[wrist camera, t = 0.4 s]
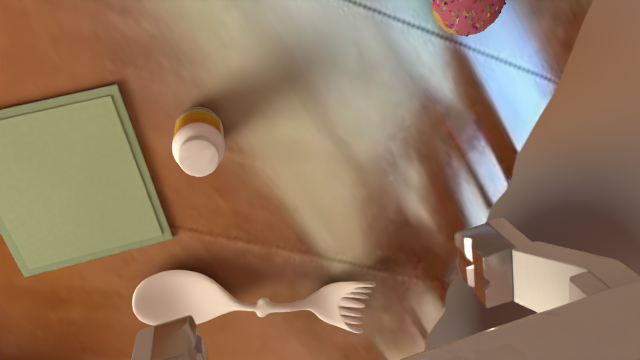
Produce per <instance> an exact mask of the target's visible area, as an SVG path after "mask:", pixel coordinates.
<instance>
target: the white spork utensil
mask: <svg viewBox="0 0 640 360" xmlns="http://www.w3.org/2000/svg"><path fill="white" fill-rule="evenodd" d="M373 286H376V284H375V283H373V282H370V281H352V282H337V283H332V284H329V285H326V286H324V287H322V288H321V289H319V290H317V291H316V292H314V293H312V294H311V295H309V296H307V297H305V298H303V299H301V300H298V301H294V302H289V303H275V302H271V301H269V299H268V298H266V297H262V298H260V299H259V301H258V302H256V303H248V302H243V301H240V300H238V299H236V298H234V297H233V296H232V295H230V294H229V293H228V292H227V291H226V290H225V289H224V288H223V287H221V286H220V285H219V284H218V283H217V282H215V281H214V280H212V279H211V278H209V277H207V276H205V275H203V274H200V273H197V272H193V271H186V270H169V271H164V272H160V273H157V274H154V275H152V276H150V277H148V278H146V279H145V280H143V281H142V282H141V283H140V284H139V285H138V286H137V288H136V290H135V292H134V294H133V299H132V307H133V311H134V313H135V315H136V316H137V317H138V318H139V319H140V320H141V321H143V322H145V323H147V324H150V325H157V324H160V323H164V322H167V321H171V320H174V319H178V318H181V317H185V316H188V315H191V316H192V317H193V319H194V321H195V323H196V324H199V323H202V322H205V321H208V320H210V319H212V318H215V317H217V316H219V315H222V314H225V313H227V312H230V311H234V310H248V311H255V312H256V313H257V315H258V316H259V317H264V316H266V315H267V314H269V313H272V312H290V311H297V310H310V311H312V312H314V313H315V314H316V315H317V316H318V317H319V318H320V319H322V320H323V321H325V322H327V323H329V324H332V325H335V326H338V327H341V328H344V329H346V330H349V331H352V332H355V333H363V332H364V331H363V330H362V329H361V328H358V327H355V326H353V325H350V324H348V323H354V324H363V322H362V321H360V320H357V319H354V318H352V317H349V316H347V315H351V316H364V315H363V314H361V313H359V312H356V311H353V310H350V309H348V308H345V307H365V305H364V304H363V303H361V302H358V301H356V300H353V299H350V298H347V297H355V298H369V297H368V296H366V295H363V294H360V293H356V292H372V291H371V290H369V289H366V288H363V287H373ZM342 306H345V307H342Z"/></svg>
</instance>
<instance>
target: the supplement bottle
mask: <svg viewBox="0 0 640 360" xmlns="http://www.w3.org/2000/svg"><path fill="white" fill-rule="evenodd" d="M172 151H173V155H174V158H175V160H176V161H177V163H178V164H179V165H180V166H181V168H182V169H183V170H184V171H185V172H186V173H188V174H190V175H192V176H198V177H199V176H205V175H208V174H210V173H211V172H213V171H214V170H215V169H216V167H217V165H218V164H219V163H220V162H221V161H222V159H223V156H224V153H225V141H224V133H223V126H222V123H221V120H220V118H219V117H218V116H217V115H216V114H215V113H214V112H213V111H211V110H209V109H207V108H204V107H193V108H190V109H187V110H186V111H184V112H183V113H182V114H181V115H180V116H179V117H178V119H177V121H176V125H175V131H174V138H173V144H172Z"/></svg>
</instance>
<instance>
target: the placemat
mask: <svg viewBox="0 0 640 360" xmlns="http://www.w3.org/2000/svg"><path fill="white" fill-rule="evenodd" d="M0 233H1V235H2V237H3V239H4V240H5V242H6V244H7V246H8V248H9V250H10V251H11V253H12V255H13V257H14V259H15V261H16V262H17V264H18V266H19V268H20V270H21V271H22V273H23V275H24V277H28V276H31V275H35V274H39V273H43V272H47V271H50V270H54V269H58V268H62V267H66V266H70V265H73V264H77V263H81V262H85V261H89V260H92V259H96V258H100V257H104V256H108V255H112V254H115V253H119V252H123V251H127V250H131V249H135V248H138V247H142V246H146V245H150V244H154V243H157V242H161V241H165V240H169V239H173V236H172V233H171V230H170V228H169V225H168V222H167V219H166V217H165V214H164V211H163V208H162V206H161V203H160V200H159V197H158V195H157V192H156V189H155V186H154V184H153V181H152V178H151V175H150V173H149V170H148V167H147V164H146V162H145V159H144V156H143V153H142V151H141V148H140V145H139V142H138V140H137V137H136V134H135V131H134V129H133V126H132V123H131V120H130V118H129V115H128V112H127V109H126V107H125V104H124V101H123V98H122V96H121V93H120V90H119V87H118V85H117V84H113V85H109V86H104V87H100V88H95V89H91V90H86V91H82V92H77V93H72V94H68V95H63V96H59V97H54V98H50V99H45V100H41V101H36V102H32V103H27V104H22V105H18V106H13V107H9V108H4V109H0Z"/></svg>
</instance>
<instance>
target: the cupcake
mask: <svg viewBox="0 0 640 360" xmlns="http://www.w3.org/2000/svg"><path fill="white" fill-rule="evenodd" d="M431 4H432V12H433V16H434V18H435V19H436V21H437V22H438V23H439V25H440V26H441V27H442V28H443V29H444V30H446V31H448V32H451V33H455V34H457V35H461V36H465V35H466V36H468V35H471V34H477V33H480V32H481V31H484V30H485V29H486V28H487V27H488V26H490V25H491V24H492V23H494V21H495V20H496V18H498V16H499V14H500V13H501V10H502V8H503V6H504V5H505V4H506V2H505V0H431Z"/></svg>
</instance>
